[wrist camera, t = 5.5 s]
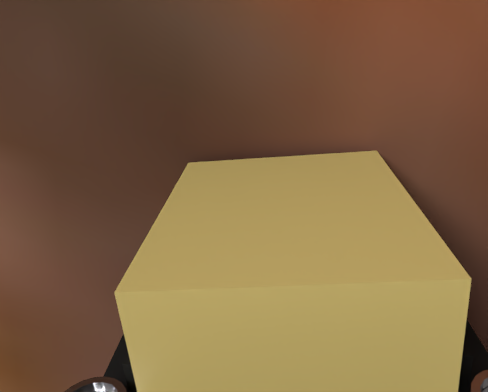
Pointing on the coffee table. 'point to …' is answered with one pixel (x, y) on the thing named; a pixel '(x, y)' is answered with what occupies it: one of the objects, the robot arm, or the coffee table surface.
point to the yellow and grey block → (294, 283)
